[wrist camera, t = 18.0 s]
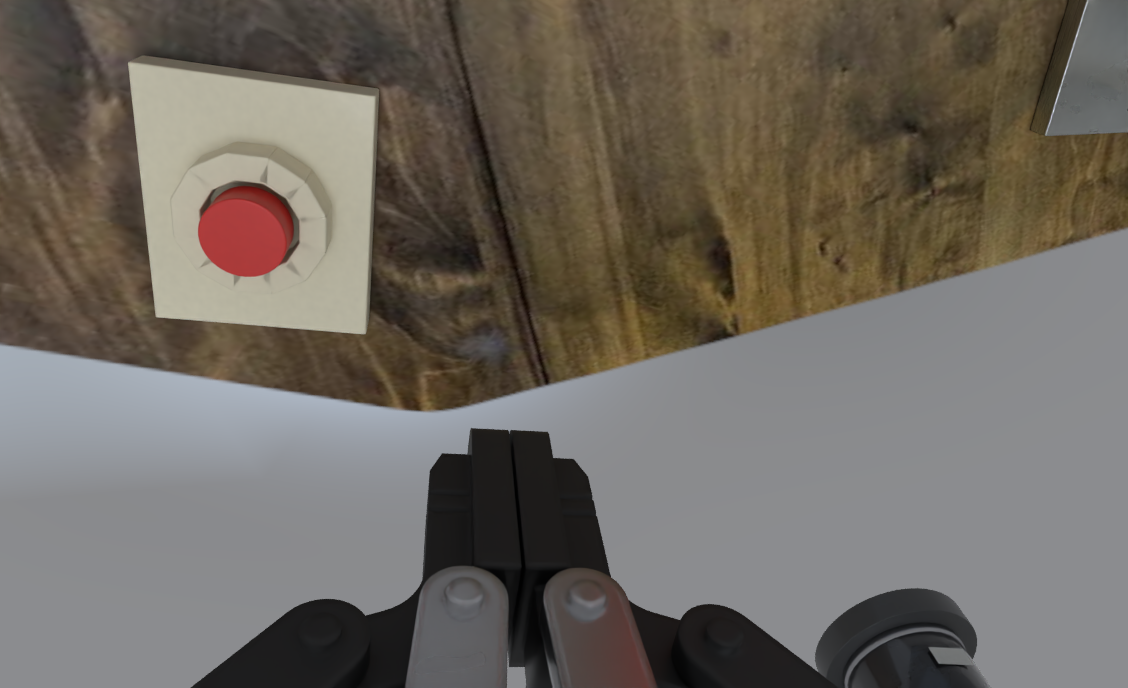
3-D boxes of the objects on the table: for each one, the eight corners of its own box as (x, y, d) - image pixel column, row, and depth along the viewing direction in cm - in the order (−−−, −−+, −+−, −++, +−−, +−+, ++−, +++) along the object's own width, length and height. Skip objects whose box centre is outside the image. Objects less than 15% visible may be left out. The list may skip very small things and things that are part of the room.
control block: (369, 319, 40) (361, 353, 37) (166, 302, 38) (141, 335, 35) (379, 88, 34) (372, 105, 31) (141, 54, 32) (109, 69, 30)
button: (294, 265, 35) (287, 281, 33) (211, 257, 34) (200, 273, 33) (293, 190, 33) (286, 204, 32) (206, 180, 32) (194, 193, 31)
